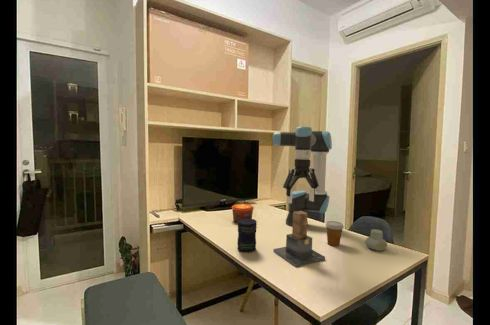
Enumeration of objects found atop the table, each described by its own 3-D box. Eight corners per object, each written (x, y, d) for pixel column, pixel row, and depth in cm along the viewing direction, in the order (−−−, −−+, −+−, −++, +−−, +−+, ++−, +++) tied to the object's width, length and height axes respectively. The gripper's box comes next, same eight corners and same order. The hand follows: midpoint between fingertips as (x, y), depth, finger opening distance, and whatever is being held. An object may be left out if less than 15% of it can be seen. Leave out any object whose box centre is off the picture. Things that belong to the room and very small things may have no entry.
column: (299, 249, 133) (301, 210, 131) (306, 252, 128) (307, 213, 127) (291, 250, 130) (292, 211, 129) (297, 254, 126) (299, 214, 124)
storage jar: (254, 253, 131) (255, 224, 130) (235, 251, 132) (236, 223, 131) (257, 246, 140) (257, 219, 139) (239, 244, 142) (239, 217, 141)
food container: (226, 221, 183) (227, 206, 182) (239, 216, 196) (239, 202, 196) (245, 225, 174) (245, 210, 174) (257, 220, 188) (258, 205, 187)
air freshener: (379, 245, 146) (380, 228, 145) (390, 251, 138) (391, 233, 137) (361, 246, 144) (363, 228, 144) (371, 252, 136) (372, 233, 135)
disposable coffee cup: (342, 242, 149) (343, 222, 148) (342, 248, 140) (343, 227, 139) (324, 240, 152) (325, 220, 151) (324, 246, 143) (325, 224, 142)
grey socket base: (301, 246, 142) (301, 228, 141) (325, 259, 126) (326, 239, 125) (273, 251, 133) (274, 232, 133) (295, 267, 117) (296, 245, 117)
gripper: (286, 159, 117) (284, 205, 118) (327, 159, 128) (325, 201, 130) (276, 158, 123) (275, 202, 125) (316, 158, 135) (314, 198, 136)
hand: (300, 201), depth 127 cm, fingers open, 13 cm apart
